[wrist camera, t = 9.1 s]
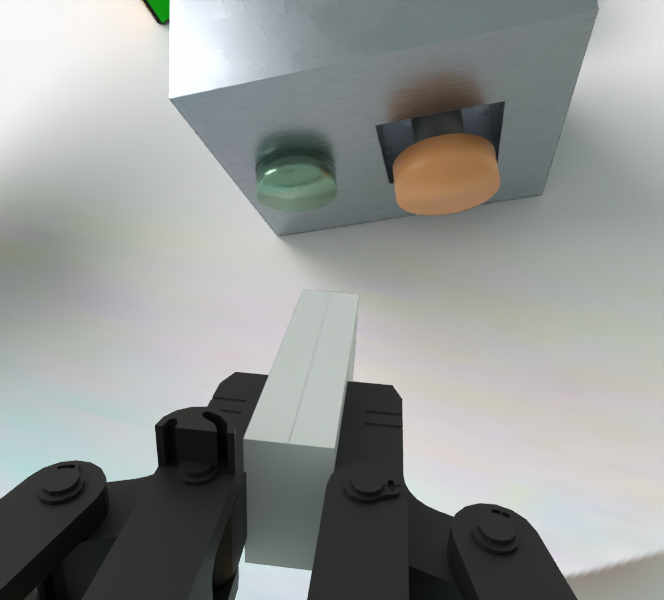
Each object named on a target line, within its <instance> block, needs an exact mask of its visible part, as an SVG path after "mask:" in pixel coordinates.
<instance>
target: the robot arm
mask: <svg viewBox="0 0 664 600" xmlns="http://www.w3.org/2000/svg"><path fill="white" fill-rule="evenodd" d="M358 302H359V294H352V293H340V292H328V291H316V290H304V289H303V291H302V294H301V296H300V299H299V301H298V304H297V306H296V309H295V311H294V314H293V316H292V319H291V321H290V324H289V326H288V329H287V331H286V334H285V336H284V339H283V341H282V344H281V346H280V349H279V351H278V354H277V356H276V359H275V361H274V364H273V366H272V369H271V371H270V374H269V375H262V374H251V373H241V372H235V373H233V374H232V375H231V376H229V377H228V378H227V379H225V380H224V381H222V382H221V383H220V384H219V386H218V388H217V390H216V392H215V393H214V395H213V399H212V400H211V401H210V403H209V405H208V406H207V407H189V408H185V409H181V410H176V411H174V412H172V413H170V414H168V415H166V416H164V417H163V418H162V419H161V420H160V421H159V422H158V423H157V424H156V425H155V432H156V443H157V454H158V468H157V470H156V471H155V473H154V474H153V475H150V476H147V477H142V478H137V479H131V480H123V481H115V482H106V476H105V474H104V473H103V471H102V469H101V468H100V467H98V466H96V465H94V464H93V463H91V462H84V461H68V462H60V463H57V464H54V465H51V466H48V467H45V468H43V469H41V470H39V471H38V472H36V473H34V474H33V475H31V476H29V477H28V478H27V479H25V480H24V481H23V482H22V483H20V484H19V485H18V486H16V487H15V488H14V489H13V490H11V491H10V492H9V493H8V494H6V495H5V496H4V497H3V498H1V499H0V600H235V597H236V593H237V590H238V580H239V569H238V564H239V561H240V557H241V554H242V551H243V548H244V545H245V562H247V563H255V564H263V565H272V566H280V567H288V568H296V569H305V570H312V575H311V580H310V586H309V592H308V598H307V600H577V598H576V596H575V595H574V593H573V591H572V590H571V588H570V586H569V585H568V583H567V581H566V580H565V578H564V576H563V575H562V573H561V571H560V570H559V568H558V566H557V565H556V563H555V561H554V560H553V558H552V556H551V555H550V553H549V551H548V550H547V548H546V546H545V544H544V543H543V541H542V539H541V538H540V536H539V534H538V533H537V531H536V530H535V529H534V528H533V527H532V526H531V524H530V523H529V522H528V521H527V520H526V519H525V518H523V517H521V516H520V515H518V514H517V513H515V512H514V511H512V510H510V509H507V508H504V507H501V506H498V505H494V504H482V503H479V504H474V505H470V506H466V507H464V508H463V509H462V510H460V511H459V512H458V513H456V514H455V517H453V516H450V515H447V514H445V513H442V512H439V511H437V510H435V509H432V508H430V507H428V506H426V505H425V504H423V503H422V502H420V501H419V500H417V499H416V498H415V497H414V496H413V495H412V493H411V492H410V491H409V490H408V488H407V486H406V484H405V481H404V476H403V429H402V427H403V425H402V398H401V397H400V395H399V394H398V393H397V391H396V390H395V388H394V387H393V385H383V384H372V383H362V382H353V371H354V358H355V344H356V330H357V316H358Z"/></svg>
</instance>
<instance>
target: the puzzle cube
mask: <svg viewBox="0 0 664 600" xmlns="http://www.w3.org/2000/svg"><path fill="white" fill-rule="evenodd" d="M141 1H142V2H143V4H144V5H145V7H146V8H147V9H148V11H149V12H150V13H151V15H152V16H153V17H154V19H155V20H156V21H157V23H158V24H163V23H164V22H166V21H167V20H169V19H170V0H141Z"/></svg>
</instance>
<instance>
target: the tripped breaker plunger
mask: <svg viewBox="0 0 664 600" xmlns="http://www.w3.org/2000/svg"><path fill="white" fill-rule="evenodd" d="M411 120H412V127H413V135H414V142H415V144H414V145H412V146H410V147H408V148H407V149H405V150H404V151H403V152H402V153H400V155H399V156H398V157H397V158H396V160H395V161H394V164H393V177H394V185H395V193H396V201H397V204H398V205H399V206H400V207H401V208H402V209H404V210H405V211H408V212H411V213H414V214H420V215H444V214H451V213H456V212H460V211H464V210H467V209H470V208H473V207H475V206H477V205H479V204H481V203H483V202H485V201H487V200H488V199H490V198H491V197H492V196H493V195H494V194H495V193H496V192H497V191H498V189H499V187H500V176H499V171H498V165H497V159H496V154H495V149H494V146H493V145H492V143H491V142H490V141H488V140H487V139H485V138H483V137H480V136H477V135H472V134H465V131H464V125H463V119H462V113H461V109H460V110H455V111H449V112H444V113H438V114H433V115H428V116H422V117H417V118H412V119H411Z"/></svg>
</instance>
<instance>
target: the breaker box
mask: <svg viewBox="0 0 664 600" xmlns="http://www.w3.org/2000/svg"><path fill="white" fill-rule="evenodd" d="M598 10H599V9H598V5H597V1H596V0H170V32H169V100H170V101H171V102H172V103H173V105H174V106H175V107H176V108H177V110H178V111H179V112H180V113H181V115H182V116H183V117H184V119H185V120H186V121H187V122H188V124H189V125H190V126H191V127H192V129H193V130H194V131H195V133H196V134H197V135H198V136H199V138H200V139H201V140H202V141H203V143H204V144H205V145H206V146H207V148H208V149H209V150H210V152H211V153H212V154H213V155H214V157H215V158H216V159H217V160H218V162H219V163H220V164H221V166H222V167H223V168H224V169H225V171H226V172H227V173H228V174H229V176H230V177H231V178H232V179H233V181H234V182H235V183H236V185H237V186H238V187H239V188H240V190H241V191H242V192H243V193H244V195H245V196H246V197H247V198H248V200H249V201H250V202H251V204H252V205H253V206H254V207H255V209H256V210H257V211H258V212H259V214H260V215H261V216H262V218H263V219H264V220H265V221H266V223H267V224H268V225H269V226H270V228H271V229H272V230H273V231H274V233H275V234H276V235H277V236H283V235H289V234H295V233H302V232H308V231H314V230H321V229H327V228H334V227H340V226H346V225H353V224H359V223H365V222H372V221H378V220H384V219H391V218H397V217H404V216H410V215H416V214H414V213H411V212H408V211H405V210H404V209H402V208H401V207H400V206H399V205H398V204H397V201H396V193H395V185H394V177H393V164H394V161H395V160H396V158H397V157H398V156H399V155H400V153H402V152H403V151H404V150H405V149H407V148H408V147H410V146H412V145H414V144H415V142H414V135H413V127H412V120H411V119H412V118H417V117H422V116H428V115H433V114H438V113H444V112H449V111H455V110H460V109H461V113H462V119H463V125H464V131H465V134H472V135H477V136H480V137H483V138H485V139H487V140H488V141H490V142H491V143H492V145H493V146H494V149H495V154H496V159H497V165H498V171H499V176H500V187H499V189H498V191H497V192H496V193H495V194H494V195H493V196H492V197H491V198H490V199H488V200H487V201H485V202H483V203H481V204H486V203H493V202H499V201H505V200H512V199H518V198H525V197H531V196H537V195H542V193H543V190H544V187H545V183H546V180H547V177H548V173H549V170H550V167H551V164H552V160H553V157H554V154H555V151H556V147H557V144H558V141H559V137H560V134H561V131H562V128H563V124H564V121H565V118H566V114H567V111H568V108H569V105H570V101H571V98H572V95H573V91H574V88H575V85H576V82H577V78H578V75H579V72H580V69H581V65H582V62H583V59H584V55H585V52H586V49H587V46H588V42H589V39H590V36H591V32H592V29H593V26H594V23H595V19H596V16H597V13H598ZM479 205H480V204H479Z"/></svg>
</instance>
